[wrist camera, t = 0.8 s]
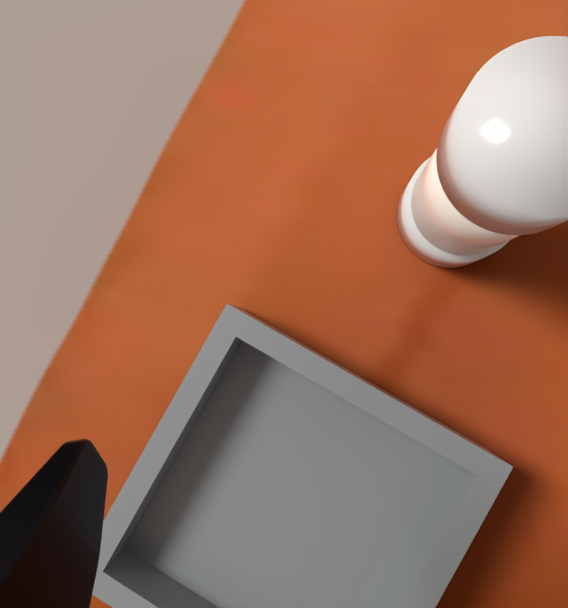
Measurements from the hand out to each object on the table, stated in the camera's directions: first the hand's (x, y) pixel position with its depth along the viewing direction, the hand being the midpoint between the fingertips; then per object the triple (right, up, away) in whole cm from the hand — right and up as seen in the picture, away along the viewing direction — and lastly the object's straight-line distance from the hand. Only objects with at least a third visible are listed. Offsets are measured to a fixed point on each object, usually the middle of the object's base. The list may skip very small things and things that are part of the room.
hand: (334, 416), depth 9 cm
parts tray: (-1, -7, +13) cm, 15 cm away
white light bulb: (+7, +6, +14) cm, 17 cm away
